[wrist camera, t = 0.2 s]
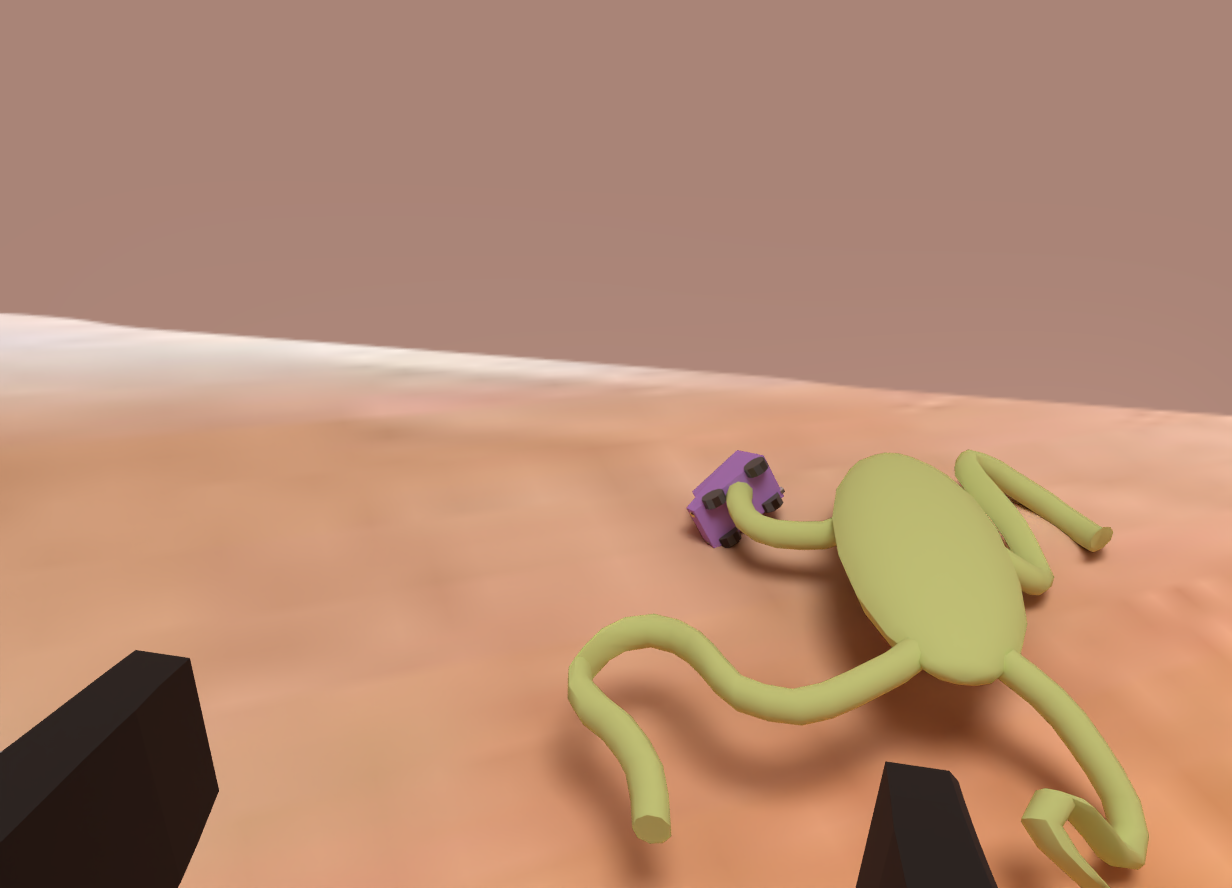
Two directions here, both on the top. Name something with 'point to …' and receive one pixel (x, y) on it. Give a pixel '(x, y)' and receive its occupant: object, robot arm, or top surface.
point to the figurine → (892, 626)
